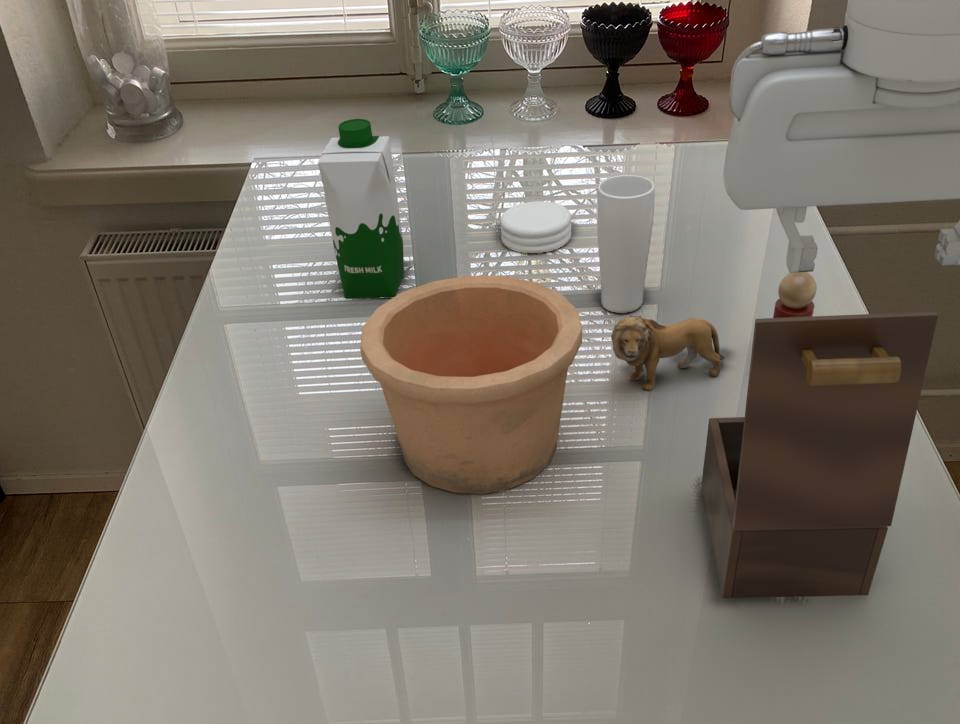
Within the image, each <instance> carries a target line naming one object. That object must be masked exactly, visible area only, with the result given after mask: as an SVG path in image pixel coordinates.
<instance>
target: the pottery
mask: <svg viewBox="0 0 960 724" xmlns="http://www.w3.org/2000/svg"><path fill="white" fill-rule="evenodd" d="M360 338H361V339H360V346H359V347H360V348H359V350H360V355H361V360H362V361H363V363H364V365H365V367H366V369H368V371H369V373H370V375H371V377H372V378H373V379H374V380H375V381H376V382H378V383H379V384H380V386H381V390H382V393H383V396H384V399H385V402H386V405H387V409H388V411H389V415H390V418H391V420H392V425H393V427H394V430H395V434H396V437H397V439H398V440H397V441H398V443H399V445H400V449H401V452H402V455H403V460H404V462H405V464H406V465H407V467H408V469H409V470H410V472H411V473H412V475H413V476H415V477H417V478H418V479H420V480H421V481H423V482H424V483H426V484H427V485H429V486H430V487H433V488H437V489H440V490H444V491H447V492H450V493H451V492H452V493H455V494H472V495H473V494H474V495H475V494H476V495H486V494H489V493H495V492H501V491H505V490H511V489H512V488H515V487H517V486H519V485H521V484H523V483H526V482H529V481H531V480H533V479H535V477H536V476H538V475H539V474H540V473H541V472H542V471H543V470H544V469H546V468H547V467H548V466H549V465H550V464H551V462H552V460H553V457H554V455H555V453H556V451H557V448H558V439H559V431H560V425H561V419H562V418H561V417H562V412H563V404H564V397H565V391H566V385H567V377H568V371H569V367H571V366H572V364H573V362H574V360H575V358H576V356H577V354H578V352H579V350H580V348H581V346H582V343H583V328H582V322H581V318H580V314H579V309H577V308H576V307H575V306H574V305H573V303H571V302H570V301H569V300H568V299H567V298H566V297H565V296H564V295H563V294H562V293H561V292H558V291H556V290H554V289H552V288H550V287H547V286H545V285H543V284H540V283H538V282H536V281H532V280H526V279H520V278H516V277H510V276H505V275H465V276H458V277H452V278H447V279H440V280H435V281H430V282H428V283H427V282H426V283H425V284H422V285H418V286H416V287H413V288H411V289H408V290H405V291H402V292H400V293H399V294H396V296H395V297H394V298H390V299H389V300H388V301H386V302H384V303H383V304H382V305H380V306H378V307H377V308H376V309H375V310H374V311H373V313H372V314H371V315H370V317H369V318H368V319H367V320H366V322H365V324H364V325H363V326H362V328H361V337H360Z"/></svg>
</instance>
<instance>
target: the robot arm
mask: <svg viewBox="0 0 960 724" xmlns="http://www.w3.org/2000/svg"><path fill="white" fill-rule="evenodd" d="M760 38H761V39H760V41H759V40H758V41H757V42H754V43H751V44H750V45H749V46H747V47H746V48H744V50H743V51H741V53H740V54H739V55H738V56H737V58H736V59H735V61H734V64H733V66H732V69H731V73H730V83H729V94H728V103H729V108H730V112H731V113H732V115H733V119H732V124H731V127H730V132H729V137H728V142H727V146H726V151H725V156H724V157H725V158H724V164H723V173H722V175H723V176H722V177H723V179H722V180H723V184H724V189H725V191H726V194H727V196H728V197H729V198H730V200H731V201H732V203H734V205H735V206H736V207H737V208H738V209H739V210H743V211H750V210H771V209H775V212H776V213H777V216H778V218H779V221H780V223H781V226H782V228H783V230H784V232H785V235H786V238H787V239H788V245H787V251H786V261H785V262H786V268H787V270H788V274H789V273H797V272H807V273H811V272H814V270H815V265H816V264H815V259H816V258H817V254H818V250H819V247H818V244H817V242H815V238H814V235H812V234H811V235H801V234H800V232H799V230H798V228H797V225H796V224H802V223H804V222H805V220H806V215H807V209H808V208H809V207H810V208H811V207H827V206H828V207H829V206H847V205H848V206H849V205H867V204H885V203H886V204H887V203H904V202H905V203H906V202H907V203H908V202H926V201H944V200H960V0H847V4H846V11H845V16H844V21H843V26H841V27H831V28H818V29H817V28H816V29H810V30H806V31H800V32H789V33H788V32H787V31H773V32H768V33H765V34H763V35H761V37H760ZM758 51H760V54H759V53H758V54H757V53H756V54H754V53H755V52H758ZM937 240H938V243H937V244H936V246H935V249H934V259H935V261H937V263H938V265H939V266H940V267H941V266H942V267H943V266H944V267H945V266H946V267H947V266H960V219H959V220H958V222H957V223H956V224H955V225H954V227H952V228H950V227H949V228H940V230H939V235H938V238H937Z"/></svg>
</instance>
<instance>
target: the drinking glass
mask: <svg viewBox="0 0 960 724" xmlns="http://www.w3.org/2000/svg"><path fill="white" fill-rule="evenodd" d="M654 216H655V183H654V181H652V180H651V179H650V178H648V177H645V176H641V175H637V174H619V175H614V176H611V177H608V178H605V179H603V180H602V181H601V182H600V183H599V184H598V186H597V197H596V232H597V246H598V260H599V261H598V262H599V277H600V304H601V306H602V307H603V308H604V309H605V310H607V311H608V312H610V311H611V312H610V313H614V312H615V314H628V312H629V313H632V312H635V311H637V310H638V309H640V307H641V306H642V305H643V302H644V293H645V282H646V275H647V268H648V260H649V253H650V247H651V239H652V234H653V233H652V232H653V225H654Z"/></svg>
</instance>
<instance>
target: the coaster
mask: <svg viewBox="0 0 960 724" xmlns="http://www.w3.org/2000/svg"><path fill="white" fill-rule="evenodd" d="M571 221H572V214H571V212H570V210H569V209H568V208H567V207H565V206H564V205H562V204H560V203H556V202H553V201H545V200H544V201H543V200H536V201H535V200H534V201H527V202H522V203H518V204H515V205H513V206H511V207H509V208H508V209H506V210H505V211H504V212H503V213H502V214H501V216H500V226H501V227H500V233H501V235H500V236H501V237H500V238H501V239H500V240H501V242H502V243H503V245H504V246H505V247H506V248H508V249H509V250H511V251H513V250H514V251H513V252H516V251H517V252H516V253H520V252H522V253H521V254H527V253H538V254H544V253H543V252H546V253H550V252H554V251H556V250H558V248H559V249H560V247H561V248H562V247H564V246H565V245H566V244H568V242H569V241H570V240H571V237H572V222H571ZM555 249H556V250H555ZM553 250H554V251H553ZM549 251H550V252H549Z"/></svg>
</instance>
